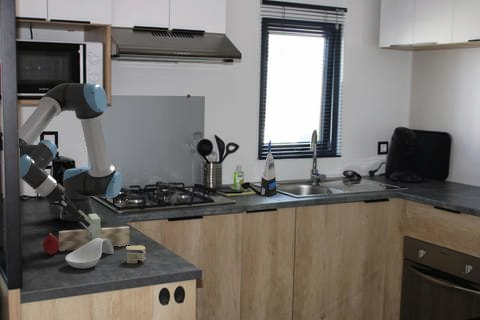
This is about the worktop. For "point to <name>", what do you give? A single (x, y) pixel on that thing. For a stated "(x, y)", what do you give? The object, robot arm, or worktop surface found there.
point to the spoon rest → (89, 253)
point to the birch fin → (81, 238)
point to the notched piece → (97, 222)
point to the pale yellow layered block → (135, 253)
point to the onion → (51, 244)
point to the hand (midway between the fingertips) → (92, 227)
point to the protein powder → (268, 176)
